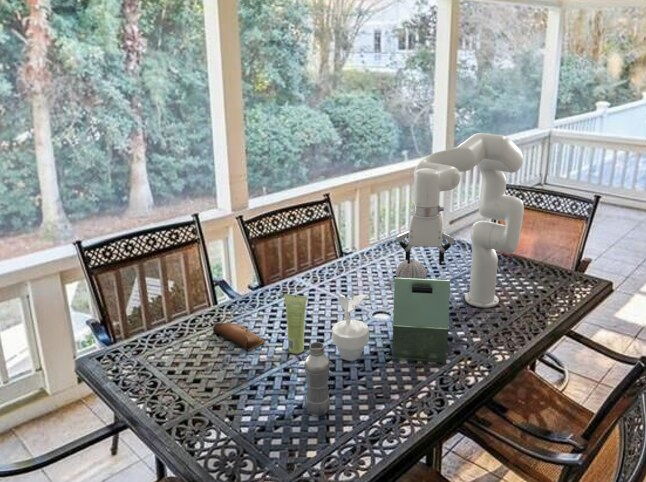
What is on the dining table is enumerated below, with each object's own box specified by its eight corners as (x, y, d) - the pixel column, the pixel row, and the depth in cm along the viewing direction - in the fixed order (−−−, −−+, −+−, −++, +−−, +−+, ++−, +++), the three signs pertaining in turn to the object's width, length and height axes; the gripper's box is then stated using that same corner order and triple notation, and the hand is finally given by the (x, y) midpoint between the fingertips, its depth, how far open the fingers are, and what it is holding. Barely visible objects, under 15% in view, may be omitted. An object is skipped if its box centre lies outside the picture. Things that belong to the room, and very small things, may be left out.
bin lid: (394, 277, 163) (394, 280, 158) (449, 280, 161) (451, 283, 156) (393, 324, 163) (392, 328, 158) (448, 327, 161) (449, 332, 156)
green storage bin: (393, 337, 179) (394, 305, 176) (444, 340, 177) (445, 308, 174) (392, 359, 167) (393, 326, 163) (446, 363, 165) (448, 329, 161)
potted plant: (342, 370, 161) (342, 295, 154) (326, 351, 171) (325, 280, 164) (378, 359, 167) (380, 286, 160) (360, 342, 177) (360, 272, 169)
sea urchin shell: (389, 281, 222) (389, 263, 220) (403, 270, 233) (404, 252, 231) (418, 288, 216) (419, 269, 213) (432, 276, 227) (432, 258, 224)
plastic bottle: (305, 404, 146) (303, 339, 140) (329, 403, 146) (329, 338, 141) (305, 420, 140) (303, 353, 134) (331, 418, 140) (330, 351, 134)
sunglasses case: (266, 340, 177) (258, 328, 173) (253, 357, 174) (244, 346, 169) (232, 323, 188) (223, 312, 184) (219, 339, 185) (209, 328, 181)
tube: (302, 344, 176) (300, 289, 170) (308, 351, 171) (306, 296, 166) (286, 348, 173) (283, 293, 168) (291, 356, 169) (289, 300, 163)
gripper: (454, 207, 163) (452, 259, 168) (397, 205, 165) (396, 257, 170) (456, 214, 156) (453, 268, 161) (396, 213, 158) (395, 266, 163)
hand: (424, 262), depth 165 cm, fingers open, 9 cm apart
